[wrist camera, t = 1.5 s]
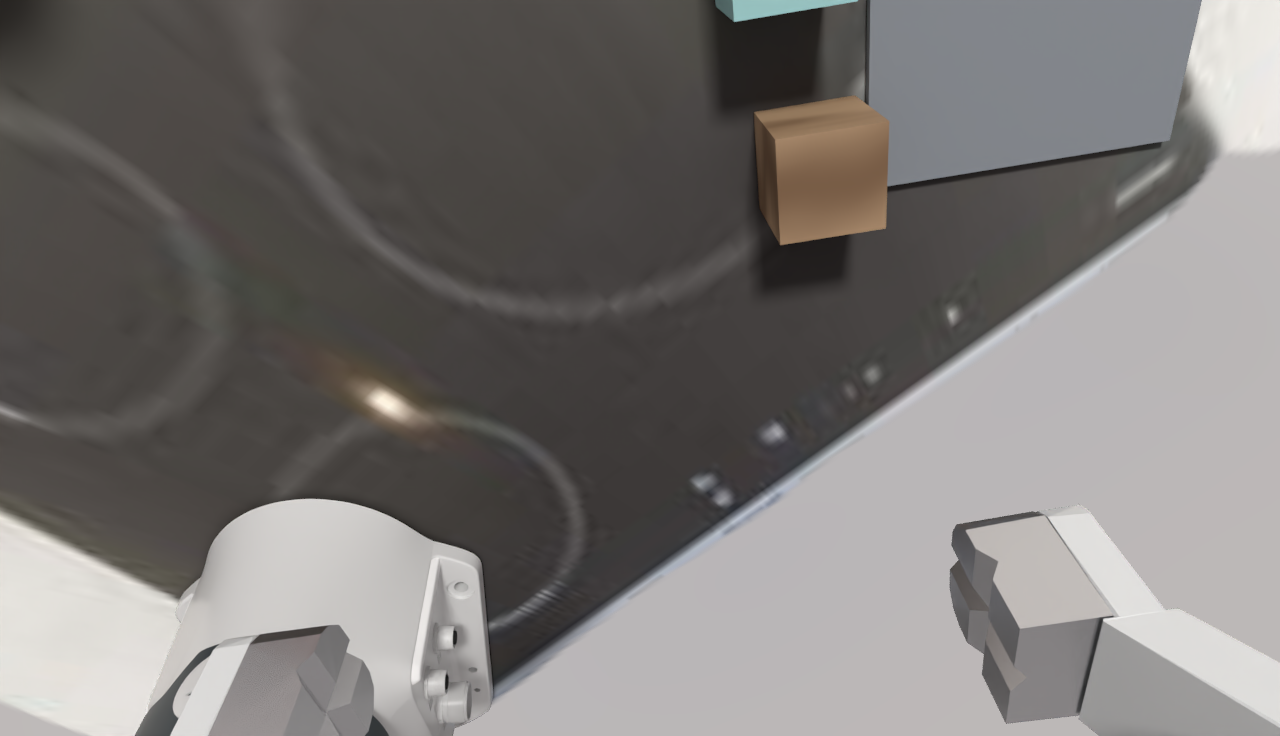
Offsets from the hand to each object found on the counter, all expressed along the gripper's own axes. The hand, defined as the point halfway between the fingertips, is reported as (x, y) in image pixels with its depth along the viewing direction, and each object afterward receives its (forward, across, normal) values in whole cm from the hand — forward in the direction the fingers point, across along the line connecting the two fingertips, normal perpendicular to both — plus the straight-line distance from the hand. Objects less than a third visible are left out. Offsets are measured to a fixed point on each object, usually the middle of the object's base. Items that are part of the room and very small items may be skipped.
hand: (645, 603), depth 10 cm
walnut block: (+27, -8, +4) cm, 29 cm away
